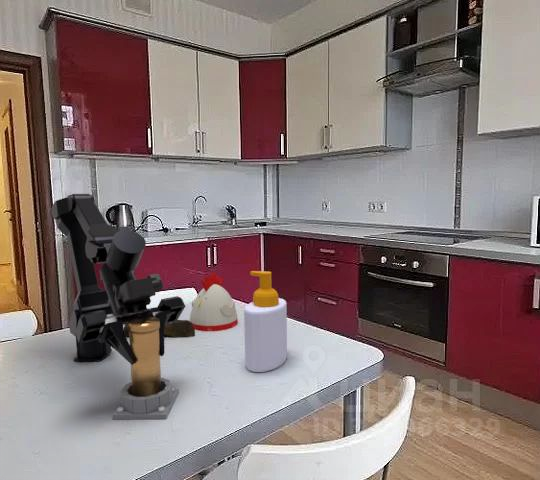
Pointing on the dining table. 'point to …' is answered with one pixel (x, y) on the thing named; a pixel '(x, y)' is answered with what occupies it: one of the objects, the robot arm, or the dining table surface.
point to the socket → (146, 403)
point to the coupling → (145, 356)
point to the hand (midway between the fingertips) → (148, 359)
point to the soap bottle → (265, 327)
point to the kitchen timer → (213, 307)
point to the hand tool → (174, 329)
